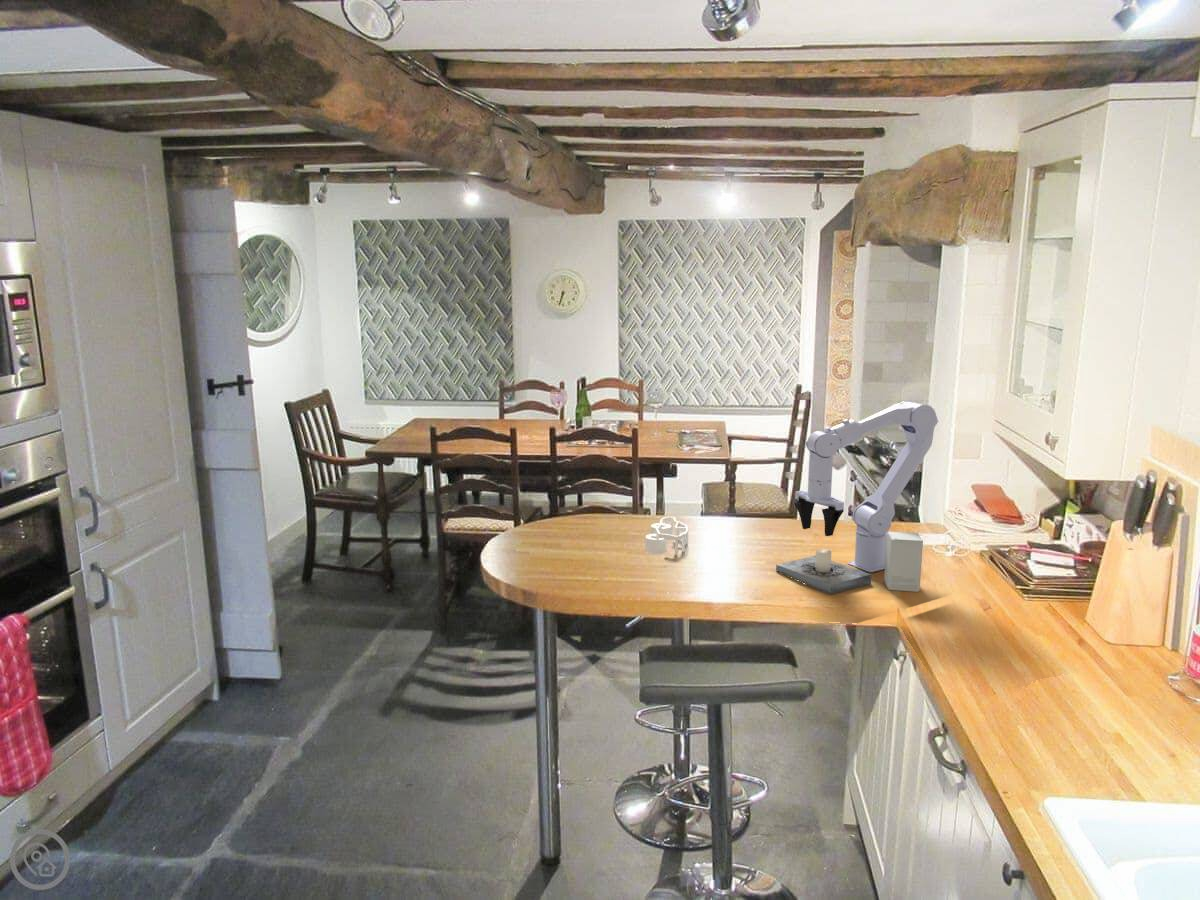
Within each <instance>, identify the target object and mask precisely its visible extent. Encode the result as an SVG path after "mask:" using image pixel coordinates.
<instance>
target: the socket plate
mask: <svg viewBox="0 0 1200 900" xmlns="http://www.w3.org/2000/svg"><path fill="white" fill-rule="evenodd" d="M815 567H816V554H815V555H811V556H806V557H804V558H799V559H795V560H794V559H793V560H789V561H785V562H782V563H781V562H780V563H777V564H776V566H775V571H776V570H777V571H779V572H778V573H780V572H781V573H780V574H782V573H783V574H782V575H784V574H785V575H784V576H786V575H787V576H786V577H788V576H789V577H788V578H790V577H792V578H794V579H796V580H799V581H801V582H803V583H805V584H806V585H805V584H804V585H805V586H807V585H809V586H811V587H810V588H812V589H814V588H815V590H818V591H820V592H821V593H822V592H823V593H825V594H827V595H830V596H831V595H836V594H838V593H842V592H845V591H850V590H853V589H856V588H857V589H858V588H860V587H864V586H867V585H871V583H872V573H870V572H867V571H864V570H861V569H860V570H859V569H858V568H855V567H852V566H847V565H845V564H842V563H839V562H836V561H833V560H831V570H830V572H829V573H822V572H817V571H815ZM777 571H776V572H777ZM792 578H791V579H792ZM794 579H793V580H794ZM796 580H795V581H796ZM803 583H802V584H803ZM809 586H808V587H809Z"/></svg>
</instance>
